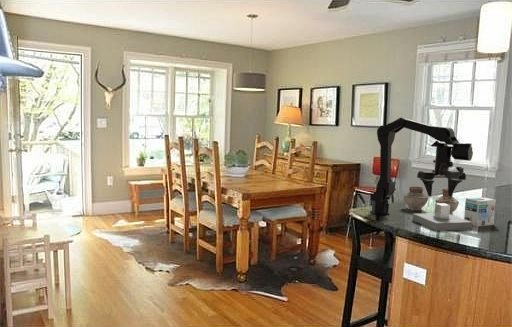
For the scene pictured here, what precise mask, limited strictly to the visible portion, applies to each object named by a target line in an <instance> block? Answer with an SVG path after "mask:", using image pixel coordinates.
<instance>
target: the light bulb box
mask: <svg viewBox="0 0 512 327" xmlns="http://www.w3.org/2000/svg"><path fill="white" fill-rule="evenodd" d="M496 203H497V200H496V199H495V198H494V199H493V198H488V197H484V196H478V197H466V198H465V202H464V204H465V205H464V213H463V214H464V216H463V219H465V220H468V221H470V222H472V227H485V226H493V225H494V224H495V223H494V222H495V212H496Z"/></svg>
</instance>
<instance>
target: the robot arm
mask: <svg viewBox="0 0 512 327" xmlns="http://www.w3.org/2000/svg"><path fill="white" fill-rule="evenodd" d="M403 129H407V130H411V131H414V132H418V133H421V134H424V135H427V136H429V137H431V138H433V139H434V140H435V141H434V142H433V143H432V144H431V145H430V146H431V147H432V148H433V147H434V148H435V147H436V148H435V149H436V150H435V159H433V161H432V162H433V163H434V169H432V171H428V170H419V171H418V173H417V176H416V178H418V179H419V180H420V181H422V183H423V185H424V187H425V188H424V189H425V190H426V193H427V197H430V198H431V197H432V194H433V193H432V192H433V184H434V183H435V180H434V179H435V178H438V179H439V178H441V179H443V178H446V179H447V188H448V195H449V196H451V195H452V193H453V194H454V192H453V191H455V190H456V187H457V186H458V185H459V184H460V183H463V181H466V179H467V175H466V173H465V172H464V167H463V166H454V162H453V161H452V159H451V158H453V159H454V160H457V161H458V160H459V161H468V162H469V161H471V160H472V159H473V156H474V151H473V147H472V143H468V142H467V143H462V142H460V141H459V140H458V139H457V137H456V136H455V134H456V133H455V131H454V129H453V128H451V127H446V126H436V125H430V124H426V123H423V122H419V121H415V120H412V119H409V118H408V117H407V118H406V117H398V118H397V119H396V120H393V121H391V122H390V123H387V124H385V125H380V126H379V127H378V128H377V130H376V135H377V141H378V143H379V146H380V148H379V149H380V150H379V151H380V152H379V154H380V157H379V160H380V161H379V179H378V181H377V183H376V188H375V191H374V192H373V193H372V194H371V195H370V200H371V201H372V202H371V210H369V213H372V214H374V215H376V216H382V215H383V216H384V215H385V216H386V215H388V216H389V215H390V213H389V210H390V204H389V200H390V199H391V197H392V196H393V195H394V194H395V191H396V184H397V183H396V181H393V179H392V145H393V143H394V140H395V138H396V134H397V133H399V132H400V131H402V130H403Z"/></svg>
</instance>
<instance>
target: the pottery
mask: <svg viewBox="0 0 512 327" xmlns="http://www.w3.org/2000/svg"><path fill="white" fill-rule="evenodd" d="M408 189H409V191H408V192H407V193H405V194H403V196H402V197H403V198H402V199H403V201H404V203H405V205H407V206H408V207H407V208H409V209H408V210H410V209H411V210H410V211H415V210H420V211H422V208H424V207H425V205H427V203H428V201H429V196H428V195H427V194H425V193H423V192H424V187H423V186H414V185H413V186H411V185H410V186H409V188H408ZM441 190H442V195H441V196H439V197H438V198H435V200H434V201H435V203H445V204H448V205H450V214H451V215H454V212H455V211H456V210H457V209H458V207H459V204H460V202H459V200H458V199H456V198H455V197H453V195H454V191H455V190H454V191H453V193H452V195H451V196H449V195H448V187H447V188H446V187H442V188H441Z"/></svg>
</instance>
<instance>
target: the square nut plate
mask: <svg viewBox="0 0 512 327" xmlns="http://www.w3.org/2000/svg"><path fill="white" fill-rule="evenodd" d="M434 215H435V212H433V213H432V212H431V213H428V212H427V213H413V214H412V222H415V223H417V222H418V223H417V224H419V223H420V225H422V226H424V227H426V226H427V228H428V227H429V229H431V230H432V231H433V230H434V231H464V230H465V231H470V230H473V225H472V222H470V221H468V220H465V219H464V218H462V217H458V216H456V215H454V214H453V215H451V214H449V219H442V220H440V219H437V218H435V217H434Z"/></svg>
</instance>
